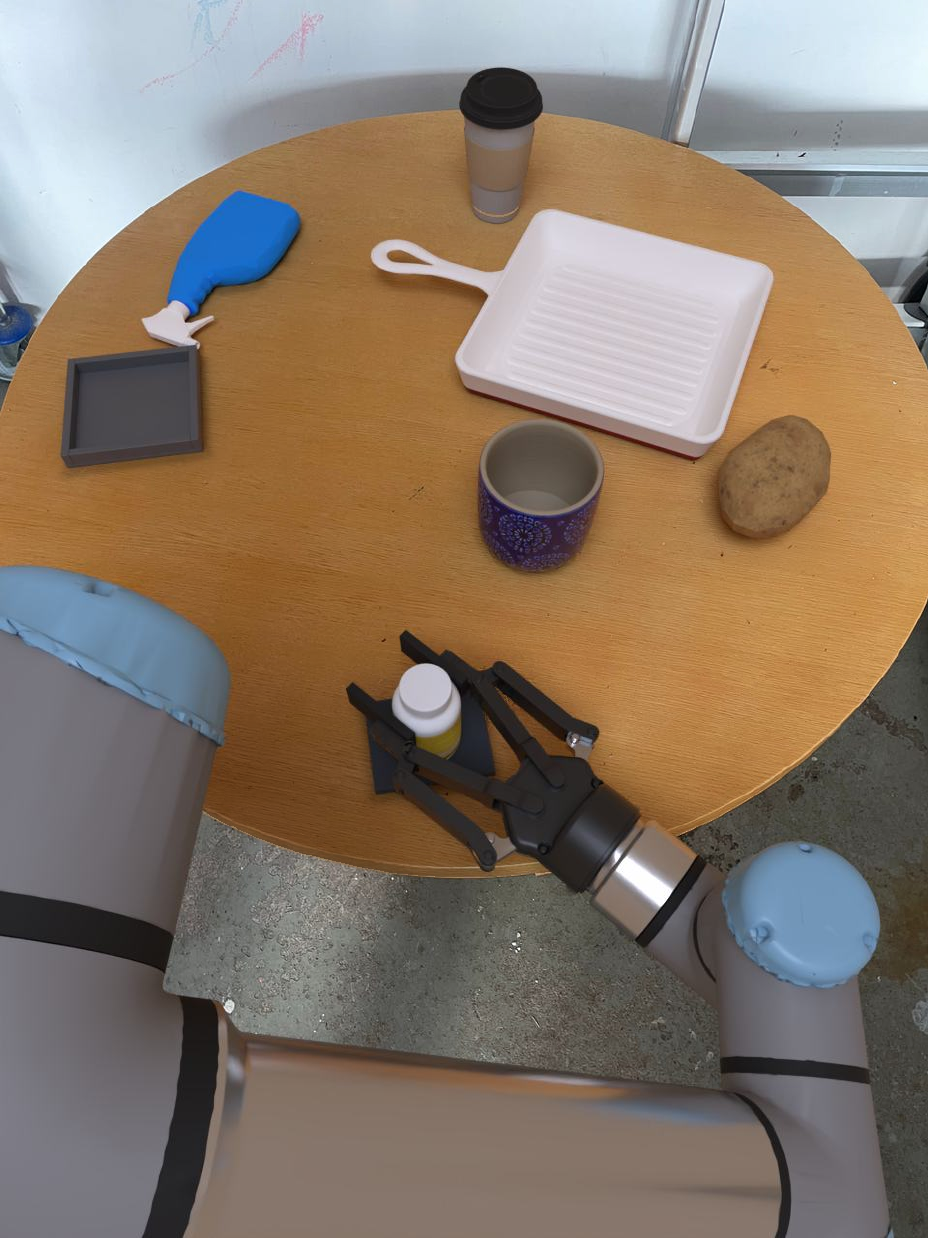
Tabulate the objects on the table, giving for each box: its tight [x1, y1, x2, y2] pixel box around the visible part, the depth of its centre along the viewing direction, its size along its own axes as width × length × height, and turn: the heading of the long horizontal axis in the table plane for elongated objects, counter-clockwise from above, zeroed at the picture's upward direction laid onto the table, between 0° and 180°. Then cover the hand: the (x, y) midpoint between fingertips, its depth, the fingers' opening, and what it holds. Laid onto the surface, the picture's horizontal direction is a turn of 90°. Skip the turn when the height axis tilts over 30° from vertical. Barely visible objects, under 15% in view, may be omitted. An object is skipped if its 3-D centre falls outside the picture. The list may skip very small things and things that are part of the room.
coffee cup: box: [458, 66, 544, 224], centre depth 102 cm, size 9×9×15 cm
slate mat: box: [365, 689, 496, 796], centre depth 73 cm, size 10×8×1 cm
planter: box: [476, 418, 605, 573], centre depth 79 cm, size 11×11×11 cm
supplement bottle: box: [391, 664, 461, 759], centre depth 69 cm, size 5×5×10 cm
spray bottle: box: [141, 189, 302, 350], centre depth 101 cm, size 3×11×24 cm
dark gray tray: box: [60, 345, 204, 469], centre depth 91 cm, size 14×14×2 cm
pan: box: [370, 208, 775, 461], centre depth 96 cm, size 28×44×5 cm, turn 68°
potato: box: [718, 414, 832, 539], centre depth 83 cm, size 10×14×8 cm
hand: (378, 666), depth 69 cm, fingers closed on supplement bottle, 5 cm apart
